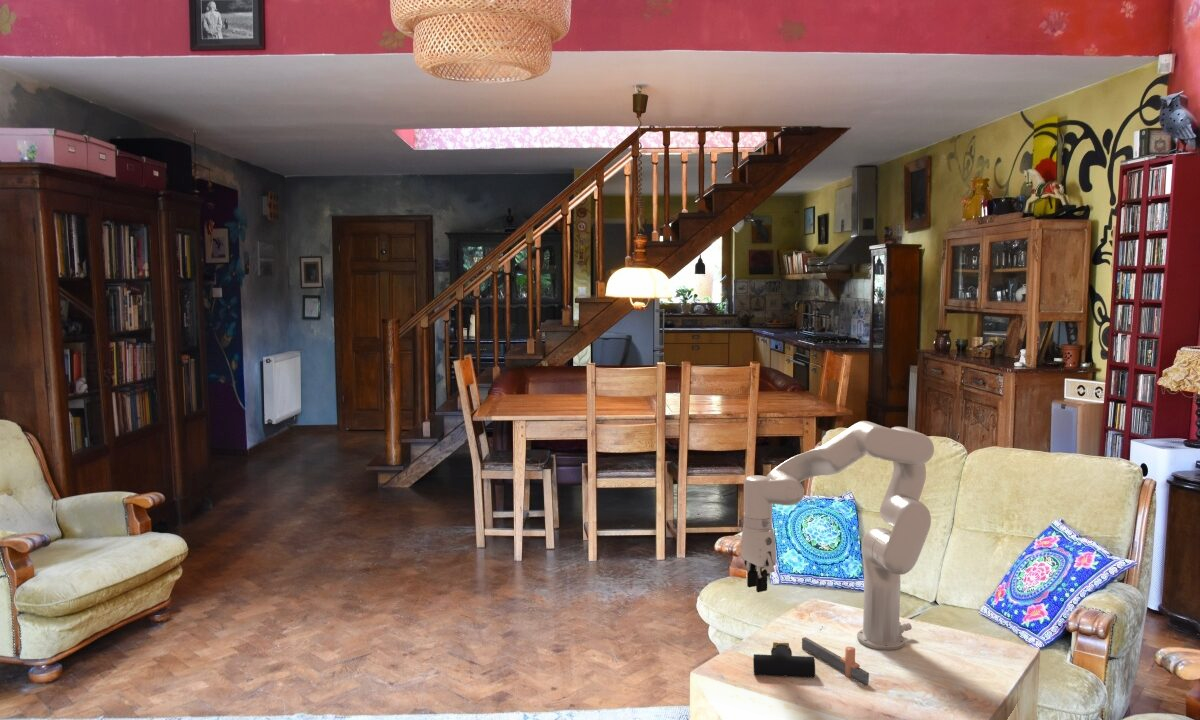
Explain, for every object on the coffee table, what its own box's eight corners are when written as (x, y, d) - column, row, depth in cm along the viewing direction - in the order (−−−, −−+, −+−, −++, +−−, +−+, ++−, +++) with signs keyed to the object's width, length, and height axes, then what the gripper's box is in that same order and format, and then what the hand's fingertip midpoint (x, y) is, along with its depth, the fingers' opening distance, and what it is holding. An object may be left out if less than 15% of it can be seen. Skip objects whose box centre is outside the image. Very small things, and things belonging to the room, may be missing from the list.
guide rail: (807, 647, 233) (807, 622, 232) (870, 684, 211) (871, 656, 211) (800, 648, 232) (800, 624, 231) (863, 686, 210) (863, 658, 210)
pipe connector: (752, 639, 226) (809, 641, 225) (752, 658, 227) (809, 660, 225) (754, 659, 215) (815, 661, 213) (754, 679, 216) (815, 681, 214)
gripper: (788, 528, 223) (787, 596, 224) (750, 513, 237) (750, 577, 239) (765, 532, 219) (764, 601, 221) (728, 516, 234) (728, 581, 236)
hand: (757, 588), depth 230 cm, fingers open, 3 cm apart
